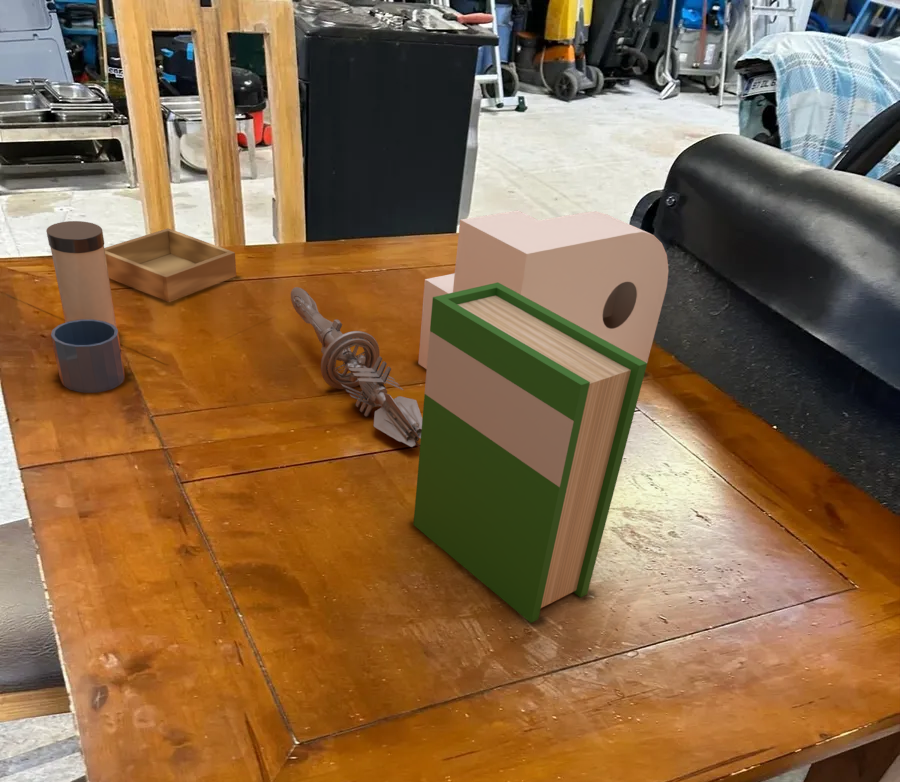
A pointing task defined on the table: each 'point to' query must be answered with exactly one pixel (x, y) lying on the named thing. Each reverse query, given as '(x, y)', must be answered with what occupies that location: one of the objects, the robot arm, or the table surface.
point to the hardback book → (521, 443)
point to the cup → (88, 355)
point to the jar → (81, 271)
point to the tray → (169, 264)
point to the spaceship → (361, 373)
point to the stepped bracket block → (564, 272)
